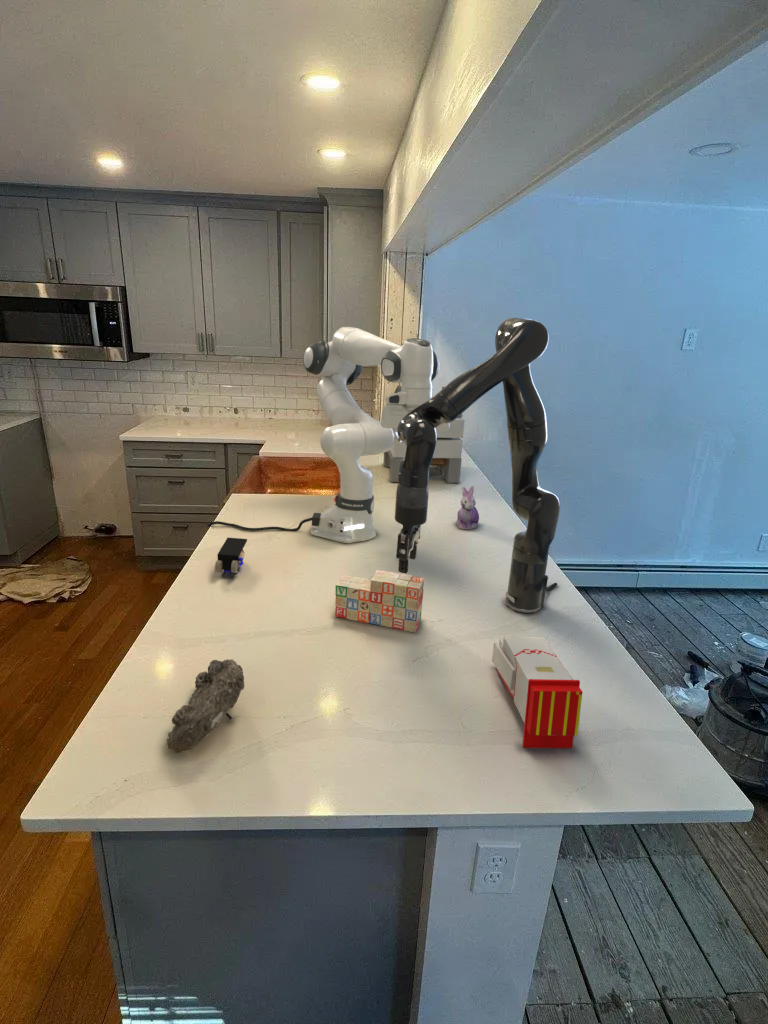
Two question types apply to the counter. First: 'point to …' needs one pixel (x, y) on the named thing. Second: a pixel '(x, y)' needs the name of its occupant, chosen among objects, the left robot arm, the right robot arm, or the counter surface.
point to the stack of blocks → (381, 600)
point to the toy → (539, 691)
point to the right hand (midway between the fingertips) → (407, 565)
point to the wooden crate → (444, 454)
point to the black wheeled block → (230, 556)
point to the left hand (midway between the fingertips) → (414, 444)
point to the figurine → (468, 510)
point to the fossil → (206, 705)
